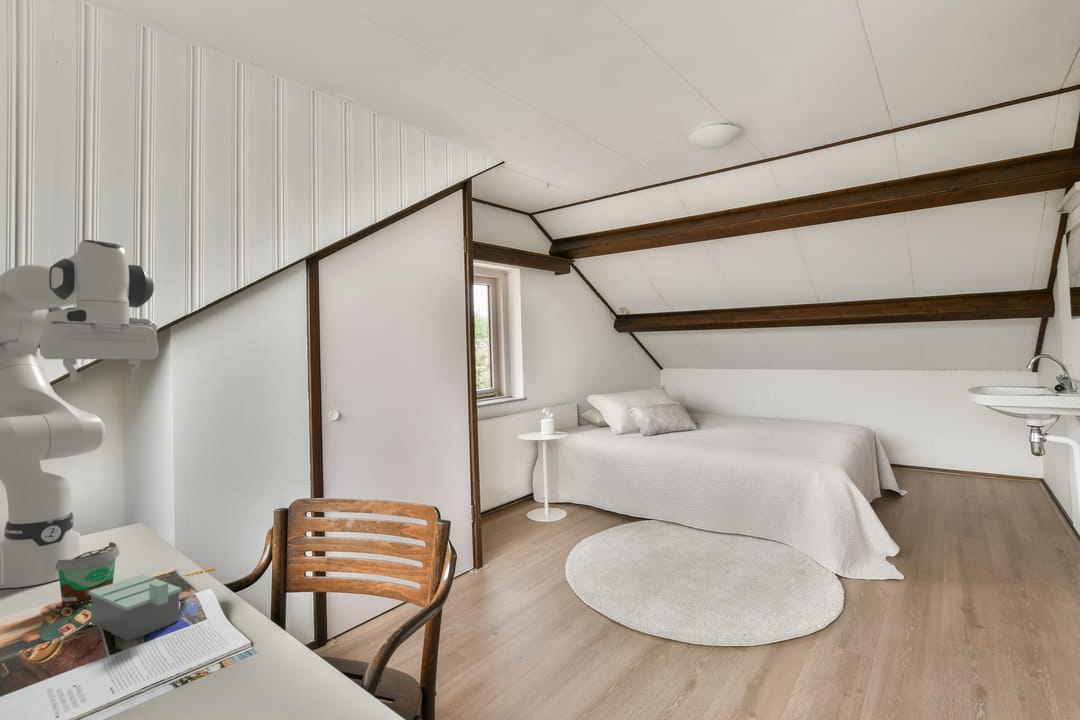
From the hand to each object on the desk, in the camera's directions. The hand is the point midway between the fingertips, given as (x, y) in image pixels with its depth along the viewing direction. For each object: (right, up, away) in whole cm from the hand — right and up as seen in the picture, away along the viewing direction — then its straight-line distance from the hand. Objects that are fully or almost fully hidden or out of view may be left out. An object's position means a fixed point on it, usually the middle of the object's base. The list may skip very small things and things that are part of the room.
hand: (103, 380), depth 116 cm
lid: (+14, -42, -9) cm, 45 cm away
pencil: (+6, -49, +13) cm, 50 cm away
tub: (+13, -48, -8) cm, 50 cm away
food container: (-5, -48, +4) cm, 49 cm away
